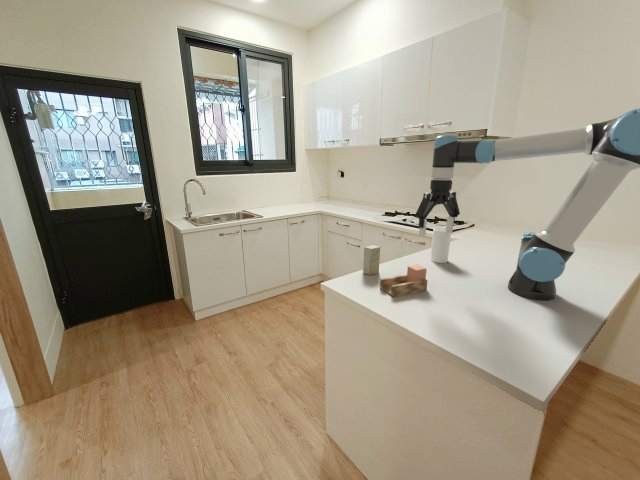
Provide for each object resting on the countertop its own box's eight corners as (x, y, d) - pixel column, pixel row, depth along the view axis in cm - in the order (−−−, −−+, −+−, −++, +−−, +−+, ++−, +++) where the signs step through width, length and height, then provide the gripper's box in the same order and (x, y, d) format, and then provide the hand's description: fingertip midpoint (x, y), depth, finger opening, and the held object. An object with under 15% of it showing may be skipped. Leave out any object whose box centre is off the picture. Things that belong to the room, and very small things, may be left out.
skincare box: (369, 275, 129) (371, 249, 126) (362, 272, 132) (363, 246, 129) (379, 272, 133) (380, 246, 130) (371, 269, 136) (373, 244, 133)
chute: (412, 282, 122) (413, 272, 121) (426, 289, 115) (427, 280, 114) (380, 288, 116) (380, 278, 115) (392, 297, 109) (393, 286, 108)
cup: (449, 263, 145) (453, 231, 140) (431, 262, 146) (434, 231, 142) (445, 258, 152) (449, 228, 148) (429, 257, 154) (432, 227, 150)
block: (416, 281, 121) (417, 264, 119) (424, 286, 117) (426, 268, 115) (406, 283, 119) (407, 266, 117) (414, 288, 115) (416, 270, 113)
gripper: (458, 178, 119) (452, 229, 124) (408, 179, 109) (403, 234, 115) (474, 179, 112) (467, 233, 117) (422, 180, 103) (416, 239, 108)
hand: (435, 234), depth 116 cm, fingers open, 13 cm apart
